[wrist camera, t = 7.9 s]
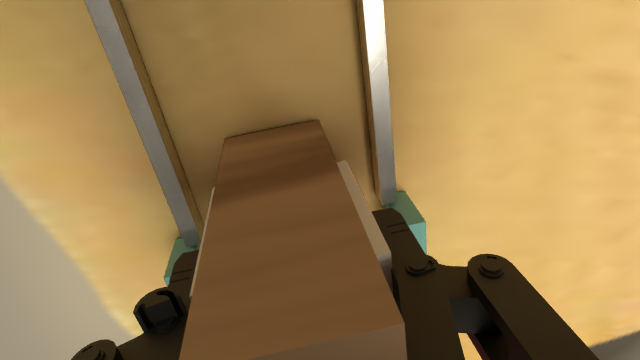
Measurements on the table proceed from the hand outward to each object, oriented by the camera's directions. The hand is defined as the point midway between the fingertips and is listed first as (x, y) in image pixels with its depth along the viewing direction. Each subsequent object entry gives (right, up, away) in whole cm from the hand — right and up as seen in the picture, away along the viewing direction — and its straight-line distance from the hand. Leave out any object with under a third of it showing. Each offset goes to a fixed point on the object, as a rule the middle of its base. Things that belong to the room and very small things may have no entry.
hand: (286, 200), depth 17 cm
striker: (0, +1, +2) cm, 2 cm away
